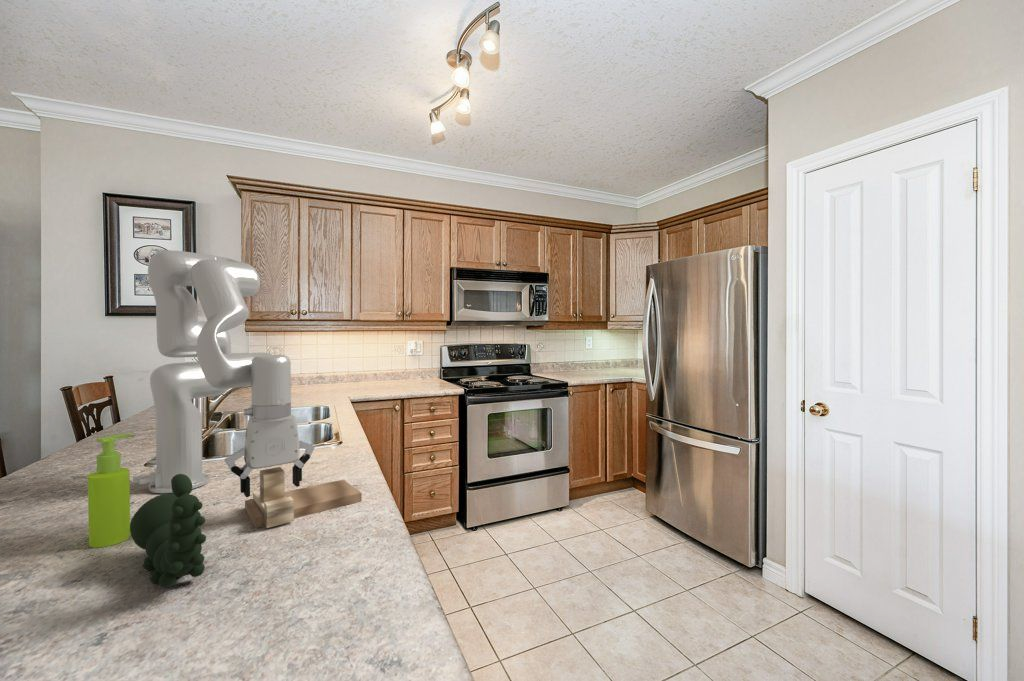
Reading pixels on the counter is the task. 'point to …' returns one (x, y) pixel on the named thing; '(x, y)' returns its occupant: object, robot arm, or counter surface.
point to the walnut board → (311, 500)
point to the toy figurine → (171, 533)
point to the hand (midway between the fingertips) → (272, 489)
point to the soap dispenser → (109, 497)
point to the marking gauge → (274, 498)
